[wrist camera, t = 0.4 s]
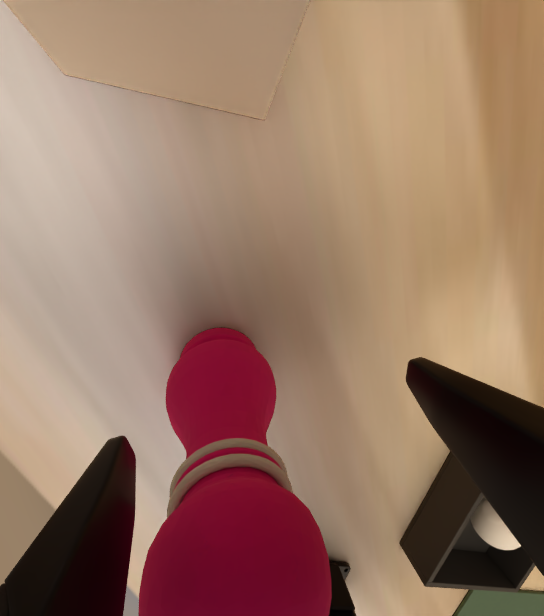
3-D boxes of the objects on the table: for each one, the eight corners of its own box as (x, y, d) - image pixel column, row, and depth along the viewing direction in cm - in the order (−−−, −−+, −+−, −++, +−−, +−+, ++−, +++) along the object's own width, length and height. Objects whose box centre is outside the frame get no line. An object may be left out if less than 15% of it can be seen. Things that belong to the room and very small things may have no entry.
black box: (484, 553, 39) (517, 593, 35) (399, 543, 35) (424, 586, 31) (547, 452, 36) (591, 482, 32) (462, 430, 32) (499, 461, 28)
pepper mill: (259, 402, 27) (384, 840, 8) (171, 404, 25) (66, 953, 6) (268, 322, 25) (457, 643, 6) (174, 318, 23) (36, 735, 5)
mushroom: (501, 499, 36) (545, 541, 31) (467, 524, 36) (507, 570, 31) (486, 475, 34) (531, 515, 30) (451, 501, 34) (490, 546, 30)
